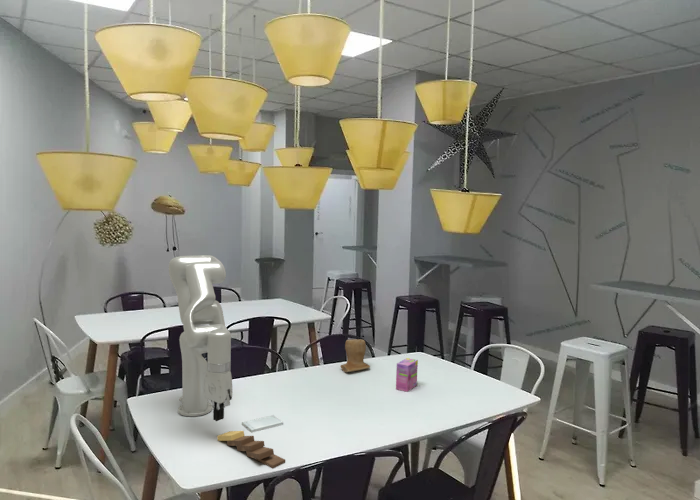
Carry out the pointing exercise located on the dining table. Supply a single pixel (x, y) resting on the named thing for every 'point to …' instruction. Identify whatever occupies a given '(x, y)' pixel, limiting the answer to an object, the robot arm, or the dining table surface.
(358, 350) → the brown statuette
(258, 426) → the hard drive
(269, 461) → the walnut domino
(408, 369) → the box
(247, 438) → the walnut domino
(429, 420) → the dining table surface
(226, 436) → the ochre domino
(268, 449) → the walnut domino
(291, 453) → the dining table surface
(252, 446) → the walnut domino
